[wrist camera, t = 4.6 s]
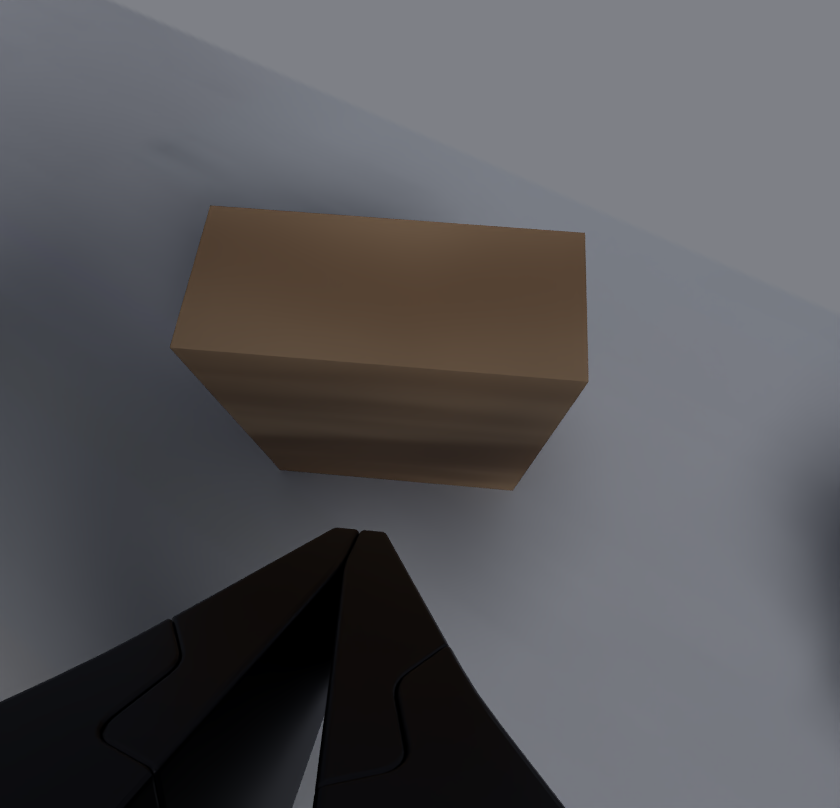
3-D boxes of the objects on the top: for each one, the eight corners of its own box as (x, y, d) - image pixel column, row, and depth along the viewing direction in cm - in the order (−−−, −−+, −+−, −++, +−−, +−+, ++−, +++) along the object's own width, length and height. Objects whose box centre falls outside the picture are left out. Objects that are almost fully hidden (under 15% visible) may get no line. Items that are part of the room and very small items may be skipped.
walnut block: (512, 490, 17) (588, 381, 9) (280, 469, 17) (169, 347, 9) (515, 396, 18) (584, 230, 10) (297, 378, 18) (211, 203, 10)
